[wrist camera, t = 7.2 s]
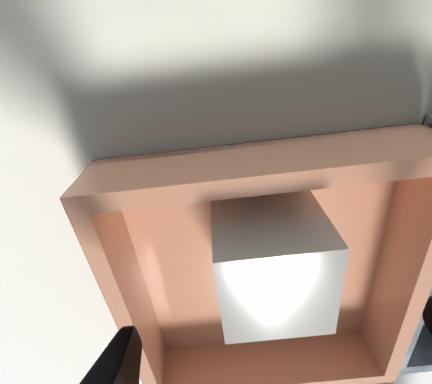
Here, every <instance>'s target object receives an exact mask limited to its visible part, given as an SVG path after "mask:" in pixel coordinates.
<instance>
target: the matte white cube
mask: <svg viewBox="0 0 432 384" xmlns="http://www.w3.org/2000/svg"><path fill="white" fill-rule="evenodd" d="M211 228H212V262H213V269H214V276H215V282H216V289H217V295H218V302H219V308H220V315H221V321H222V327H223V334H224V340H225V344H236V343H246V342H256V341H267V340H277V339H287V338H298V337H308V336H319V335H329V334H336V328H337V322H338V316H339V310H340V303H341V297H342V291H343V285H344V279H345V273H346V267H347V261H348V254H349V248H348V246H347V245H346V243H345V242H344V240H343V239H342V237H341V236H340V234H339V233H338V231H337V230H336V228H335V227H334V225H333V224H332V222H331V221H330V219H329V218H328V216H327V215H326V213H325V212H324V210H323V209H322V207H321V206H320V204H319V203H318V201H317V200H316V198H315V197H314V195H313V194H312V192H311V191H310V190H307V191H298V192H289V193H280V194H270V195H261V196H252V197H243V198H234V199H225V200H216V201H211Z"/></svg>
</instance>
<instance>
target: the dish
mask: <svg viewBox="0 0 432 384" xmlns="http://www.w3.org/2000/svg"><path fill="white" fill-rule="evenodd" d="M307 190H310V191H311V192H312V194H313V195H314V197H315V198H316V200H317V201H318V203H319V204H320V206H321V207H322V209H323V210H324V212H325V213H326V215H327V216H328V218H329V219H330V221H331V222H332V224H333V225H334V227H335V228H336V230H337V231H338V233H339V234H340V236H341V237H342V239H343V240H344V242H345V243H346V245H347V246H348V248H349V254H348V261H347V267H346V273H345V279H344V285H343V291H342V297H341V303H340V310H339V316H338V322H337V328H336V334H329V335H319V336H308V337H298V338H287V339H277V340H267V341H256V342H246V343H236V344H225V340H224V334H223V327H222V321H221V315H220V308H219V302H218V295H217V289H216V282H215V276H214V269H213V262H212V228H211V201H216V200H225V199H234V198H243V197H252V196H261V195H270V194H280V193H289V192H298V191H307ZM60 200H61V203H62V205H63V207H64V209H65V212H66V214H67V216H68V218H69V220H70V223H71V225H72V227H73V229H74V232H75V234H76V236H77V238H78V241H79V243H80V245H81V247H82V250H83V252H84V254H85V256H86V258H87V261H88V263H89V265H90V267H91V270H92V272H93V274H94V276H95V279H96V281H97V283H98V285H99V287H100V290H101V292H102V294H103V296H104V299H105V301H106V303H107V305H108V308H109V310H110V312H111V314H112V317H113V319H114V321H115V323H116V325H117V328H118V330H119V329H120V328H121V327H123V326H131V325H134V326H136V328H137V331H138V333H139V336H140V338H141V341H142V355H141V365H140V376H139V377H140V379H141V381H142V384H378V383H389V382H396V379H397V377H398V374H399V371H400V369H401V366H402V364H403V361H404V358H405V356H406V353H407V351H408V348H409V346H410V343H411V340H412V338H413V335H414V333H415V330H416V328H417V325H418V322H419V320H420V317H421V315H422V312H423V309H424V307H425V304H426V302H427V299H428V297H429V294H430V291H431V289H432V128H429V127H427V126H424V125H422V124H420V123H416V124H407V125H398V126H389V127H381V128H372V129H363V130H354V131H346V132H337V133H328V134H319V135H311V136H302V137H293V138H284V139H276V140H267V141H258V142H249V143H241V144H232V145H223V146H215V147H206V148H197V149H188V150H180V151H171V152H162V153H153V154H145V155H136V156H127V157H118V158H110V159H101V160H93V161H92V162H91V163H90V165H89V166H88V167H87V168H86V169H85V170H84V171H83V172H82V174H81V175H80V176H79V177H78V178H77V179H76V180H75V181H74V183H73V184H72V185H71V186H70V187H69V188H68V189H67V190H66V191H65V193H64V194H63V195H62V196H61V197H60Z"/></svg>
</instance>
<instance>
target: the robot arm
mask: <svg viewBox="0 0 432 384" xmlns="http://www.w3.org/2000/svg"><path fill="white" fill-rule="evenodd" d="M422 317H423V321H424V323H425V325H426V327H427V329H428V331H429V332H430V334H431V336H432V296H430V297H428V299H427V302H426V304H425V307H424V309H423V312H422ZM141 355H142V341H141V338H140V336H139V333H138V331H137V328H136V326H134V325H131V326H123V327H121V328H120V329H119V331H118V332H117V333H116V335H115V336H114V338H113V339H112V340H111V342H110V343H109V344H108V346H107V347H106V348H105V350H104V351H103V352H102V354H101V355H100V357H99V358H98V359H97V361H96V362H95V363H94V365H93V366H92V367H91V369H90V370H89V371H88V373H87V374H86V376H85V377H84V378H83V380H82V381H81V382H80V384H139V376H140V365H141Z"/></svg>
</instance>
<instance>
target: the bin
mask: <svg viewBox="0 0 432 384" xmlns="http://www.w3.org/2000/svg"><path fill="white" fill-rule="evenodd" d="M423 125H424V126H427V127H429V128H432V114H429V115H426V116H425V120H424V124H423ZM430 296H432V289H431V291H430V294H429V297H430ZM427 371H432V336H431V334H430V332H429V331H428V329H427V327H426V325H425V323H424V321H423V317H422V315H421V317H420V320H419V322H418V325H417V328H416V330H415V333H414V335H413V338H412V340H411V343H410V346H409V348H408V351H407V353H406V356H405V358H404V361H403V364H402V366H401V369H400V371H399V374H405V373H416V372H427Z"/></svg>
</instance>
